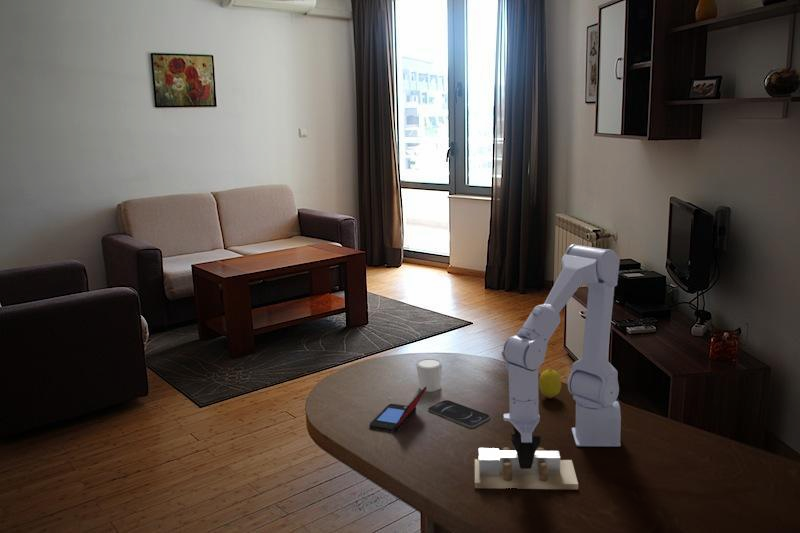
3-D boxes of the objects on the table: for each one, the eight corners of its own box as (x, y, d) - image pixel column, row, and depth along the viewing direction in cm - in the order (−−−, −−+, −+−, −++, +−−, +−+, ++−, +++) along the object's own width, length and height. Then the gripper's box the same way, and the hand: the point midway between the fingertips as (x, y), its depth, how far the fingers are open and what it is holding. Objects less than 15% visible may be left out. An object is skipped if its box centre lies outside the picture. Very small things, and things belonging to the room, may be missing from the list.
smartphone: (446, 399, 174) (492, 415, 163) (446, 402, 174) (492, 419, 163) (425, 409, 169) (471, 426, 158) (426, 412, 169) (471, 430, 158)
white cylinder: (443, 392, 179) (442, 367, 177) (417, 393, 179) (416, 368, 177) (442, 381, 186) (441, 357, 184) (417, 382, 186) (416, 358, 184)
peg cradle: (571, 465, 141) (571, 446, 140) (578, 489, 132) (578, 469, 131) (474, 464, 143) (474, 445, 142) (474, 488, 134) (474, 468, 133)
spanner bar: (558, 465, 139) (558, 448, 138) (560, 477, 134) (560, 460, 133) (479, 464, 140) (478, 448, 139) (479, 476, 136) (479, 459, 135)
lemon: (564, 395, 173) (564, 366, 171) (556, 404, 168) (556, 374, 166) (543, 391, 176) (543, 363, 174) (535, 400, 171) (535, 370, 169)
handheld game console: (389, 407, 172) (388, 380, 171) (429, 413, 168) (428, 385, 166) (367, 429, 161) (365, 400, 160) (409, 436, 157) (407, 406, 155)
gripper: (501, 380, 141) (502, 439, 144) (504, 411, 127) (505, 476, 130) (536, 380, 140) (536, 440, 143) (543, 411, 126) (543, 477, 129)
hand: (524, 457), depth 136 cm, fingers open, 7 cm apart
